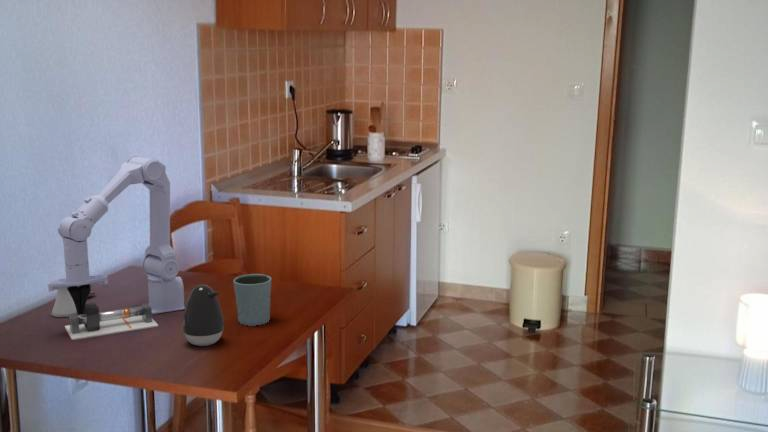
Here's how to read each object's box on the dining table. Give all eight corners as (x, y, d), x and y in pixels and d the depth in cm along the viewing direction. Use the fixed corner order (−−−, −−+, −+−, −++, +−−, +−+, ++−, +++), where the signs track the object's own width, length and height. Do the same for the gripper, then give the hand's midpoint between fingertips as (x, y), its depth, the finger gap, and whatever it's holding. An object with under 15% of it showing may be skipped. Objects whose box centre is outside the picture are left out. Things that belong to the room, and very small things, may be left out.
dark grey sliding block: (96, 323, 223) (94, 302, 221) (99, 329, 218) (98, 307, 217) (84, 325, 221) (82, 304, 220) (88, 330, 217) (86, 309, 216)
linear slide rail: (148, 318, 229) (147, 303, 228) (152, 323, 225) (151, 307, 224) (70, 330, 219) (68, 314, 218) (73, 335, 215) (71, 319, 215)
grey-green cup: (279, 320, 229) (278, 278, 226) (250, 329, 221) (249, 286, 219) (256, 312, 235) (255, 271, 233) (227, 321, 228) (225, 278, 226)
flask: (69, 319, 228) (67, 284, 226) (45, 317, 230) (43, 282, 228) (84, 311, 235) (82, 277, 233) (61, 309, 237) (58, 275, 235)
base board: (147, 314, 232) (147, 313, 232) (158, 326, 223) (158, 324, 223) (64, 327, 222) (64, 325, 222) (72, 340, 212) (71, 338, 212)
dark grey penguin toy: (205, 352, 205) (203, 293, 202) (174, 344, 210) (172, 286, 207) (233, 340, 213) (231, 283, 210) (203, 333, 218) (201, 277, 215)
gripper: (102, 256, 222) (105, 305, 224) (44, 262, 215) (48, 313, 217) (108, 262, 216) (111, 312, 218) (48, 269, 209) (52, 321, 211)
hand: (80, 313), depth 218 cm, fingers closed
